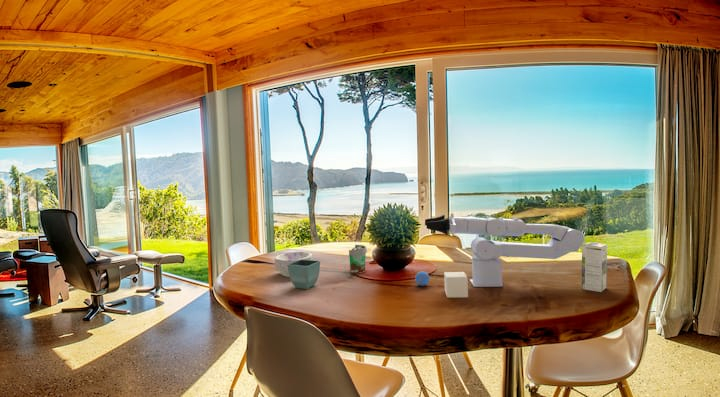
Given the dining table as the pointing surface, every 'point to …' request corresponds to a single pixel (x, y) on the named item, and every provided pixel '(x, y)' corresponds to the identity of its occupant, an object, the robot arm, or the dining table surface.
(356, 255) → the food container
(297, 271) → the flower pot
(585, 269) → the syrup box
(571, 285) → the dining table surface
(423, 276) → the ball
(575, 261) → the dining table surface
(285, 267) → the paper bowls
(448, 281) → the white cube block
